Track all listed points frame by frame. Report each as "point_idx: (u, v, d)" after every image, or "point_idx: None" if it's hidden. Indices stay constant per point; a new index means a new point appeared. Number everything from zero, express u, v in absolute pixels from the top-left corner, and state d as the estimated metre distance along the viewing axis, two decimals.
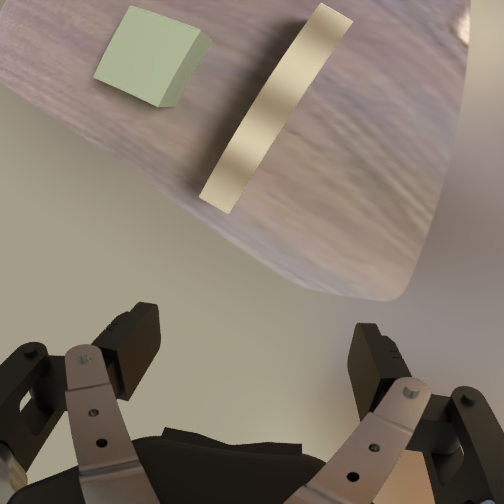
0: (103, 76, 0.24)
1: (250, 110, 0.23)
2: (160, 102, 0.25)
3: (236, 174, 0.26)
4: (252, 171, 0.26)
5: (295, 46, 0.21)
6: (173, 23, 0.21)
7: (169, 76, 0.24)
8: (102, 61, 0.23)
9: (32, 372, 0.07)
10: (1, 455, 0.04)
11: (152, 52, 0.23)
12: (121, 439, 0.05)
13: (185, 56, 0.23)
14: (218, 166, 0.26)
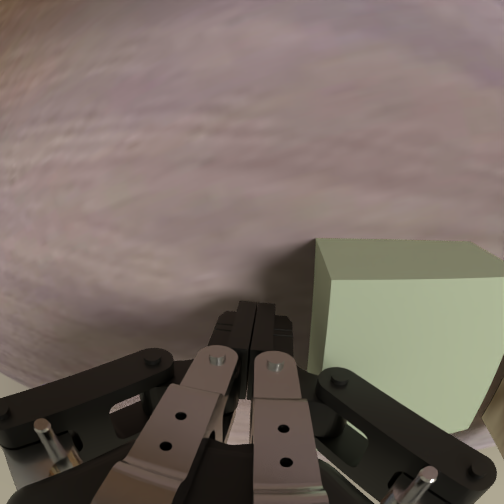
0: None
1: None
2: (471, 421, 0.10)
3: None
4: None
5: None
6: (477, 287, 0.09)
7: (485, 385, 0.10)
8: None
9: (142, 382, 0.07)
10: (61, 443, 0.05)
11: (444, 368, 0.10)
12: (186, 452, 0.05)
13: None
14: None
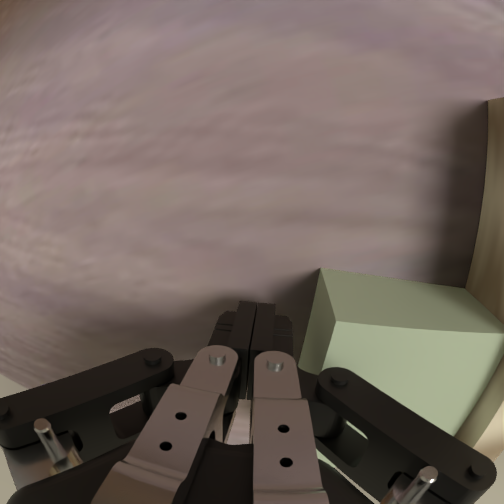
0: None
1: None
2: None
3: None
4: None
5: None
6: (465, 340, 0.09)
7: (457, 424, 0.11)
8: None
9: (142, 382, 0.07)
10: (61, 443, 0.05)
11: (423, 406, 0.10)
12: (185, 452, 0.05)
13: (483, 385, 0.10)
14: None
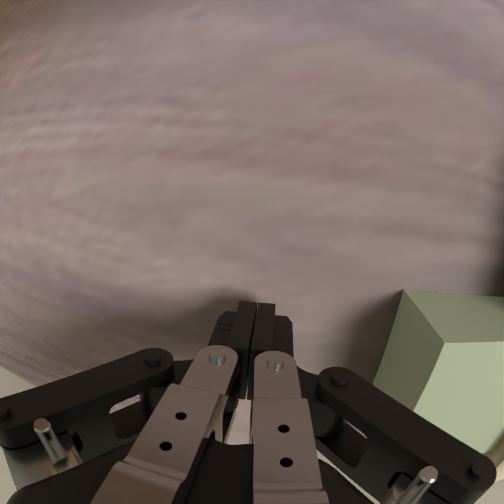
0: None
1: None
2: (495, 445, 0.11)
3: None
4: None
5: None
6: None
7: None
8: None
9: (142, 382, 0.07)
10: (61, 443, 0.05)
11: (492, 404, 0.10)
12: (186, 452, 0.05)
13: None
14: None
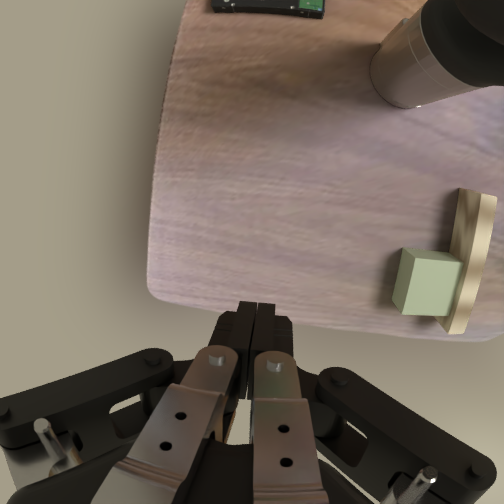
0: (409, 311, 0.38)
1: (465, 278, 0.35)
2: (449, 312, 0.38)
3: (464, 313, 0.36)
4: (471, 307, 0.36)
5: (478, 230, 0.33)
6: (448, 263, 0.36)
7: (452, 297, 0.37)
8: (406, 302, 0.38)
9: (142, 382, 0.07)
10: (61, 443, 0.05)
11: (439, 286, 0.37)
12: (185, 452, 0.05)
13: (458, 281, 0.37)
14: (455, 314, 0.36)
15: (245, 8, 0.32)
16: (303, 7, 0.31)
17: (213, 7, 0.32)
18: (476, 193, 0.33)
